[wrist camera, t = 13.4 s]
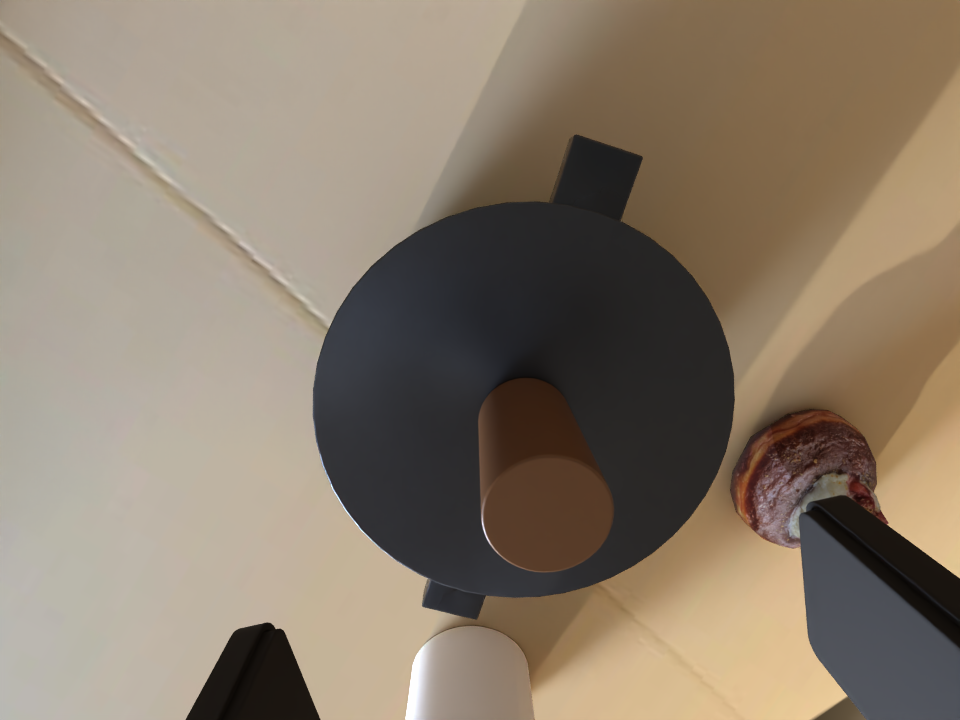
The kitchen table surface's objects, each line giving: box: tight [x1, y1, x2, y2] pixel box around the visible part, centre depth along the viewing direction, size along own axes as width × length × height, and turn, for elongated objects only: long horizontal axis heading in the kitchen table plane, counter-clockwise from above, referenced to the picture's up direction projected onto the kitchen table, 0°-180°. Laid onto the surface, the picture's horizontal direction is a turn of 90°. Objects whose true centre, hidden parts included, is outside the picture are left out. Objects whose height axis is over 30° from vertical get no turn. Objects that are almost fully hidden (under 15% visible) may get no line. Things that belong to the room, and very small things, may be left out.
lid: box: [313, 201, 735, 598], centre depth 16 cm, size 15×15×7 cm
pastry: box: [730, 409, 888, 548], centre depth 27 cm, size 8×8×5 cm
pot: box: [422, 134, 643, 620], centre depth 23 cm, size 14×19×8 cm
